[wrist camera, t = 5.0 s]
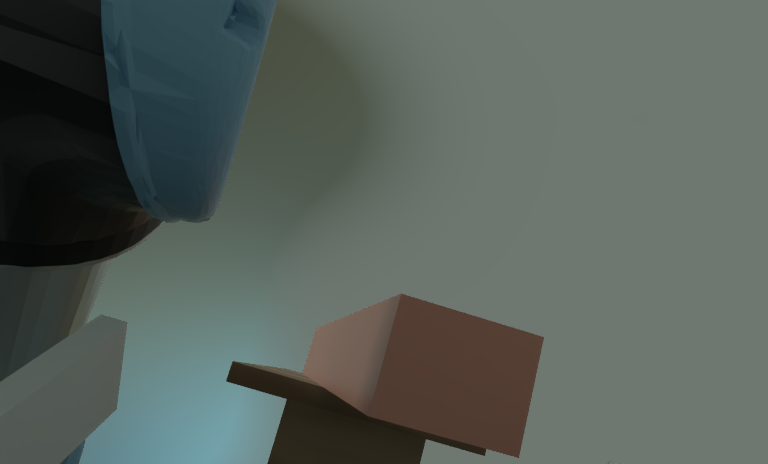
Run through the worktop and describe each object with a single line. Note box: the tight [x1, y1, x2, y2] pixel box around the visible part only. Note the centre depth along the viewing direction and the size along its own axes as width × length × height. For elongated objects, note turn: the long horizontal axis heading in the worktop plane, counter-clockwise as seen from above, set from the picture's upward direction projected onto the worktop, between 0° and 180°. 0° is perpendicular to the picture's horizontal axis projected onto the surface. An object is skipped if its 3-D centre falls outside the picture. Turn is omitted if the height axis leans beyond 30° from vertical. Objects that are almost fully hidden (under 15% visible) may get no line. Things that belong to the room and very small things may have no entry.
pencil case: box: [303, 294, 544, 458], centre depth 32 cm, size 30×4×4 cm, turn 11°
